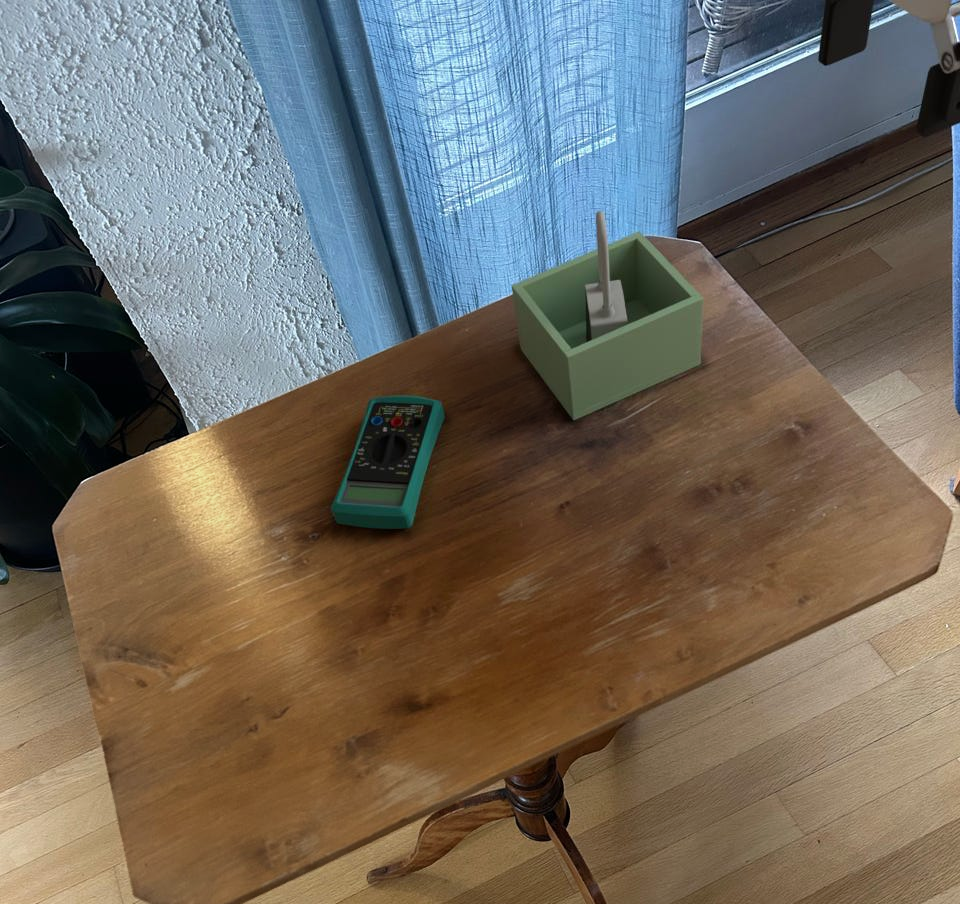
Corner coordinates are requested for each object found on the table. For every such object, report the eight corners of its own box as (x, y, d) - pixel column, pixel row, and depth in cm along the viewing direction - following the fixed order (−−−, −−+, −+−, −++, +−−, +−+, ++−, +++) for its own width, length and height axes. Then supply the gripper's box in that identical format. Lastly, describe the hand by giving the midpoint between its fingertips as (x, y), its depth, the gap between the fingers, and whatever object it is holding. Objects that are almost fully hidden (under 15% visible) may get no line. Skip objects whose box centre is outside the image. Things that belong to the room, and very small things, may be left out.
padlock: (634, 372, 97) (630, 235, 85) (590, 378, 98) (579, 243, 85) (626, 325, 101) (621, 187, 88) (583, 331, 101) (572, 195, 89)
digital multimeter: (448, 413, 99) (442, 391, 97) (412, 534, 92) (405, 513, 89) (376, 410, 101) (369, 388, 98) (335, 529, 93) (326, 508, 91)
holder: (700, 364, 98) (703, 298, 91) (573, 421, 96) (567, 357, 90) (640, 297, 104) (639, 230, 97) (520, 349, 102) (511, 285, 96)
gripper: (1161, -241, 44) (1039, 134, 59) (907, -328, 54) (856, 13, 68) (1015, -184, 43) (927, 182, 58) (783, -283, 53) (757, 53, 67)
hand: (889, 90), depth 63 cm, fingers open, 9 cm apart
